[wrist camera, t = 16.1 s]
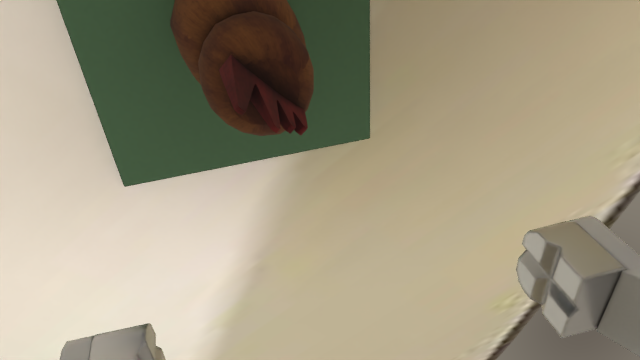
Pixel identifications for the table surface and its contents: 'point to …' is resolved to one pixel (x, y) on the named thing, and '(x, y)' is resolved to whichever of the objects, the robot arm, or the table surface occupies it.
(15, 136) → the table surface
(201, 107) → the mat
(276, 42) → the wooden figurine
